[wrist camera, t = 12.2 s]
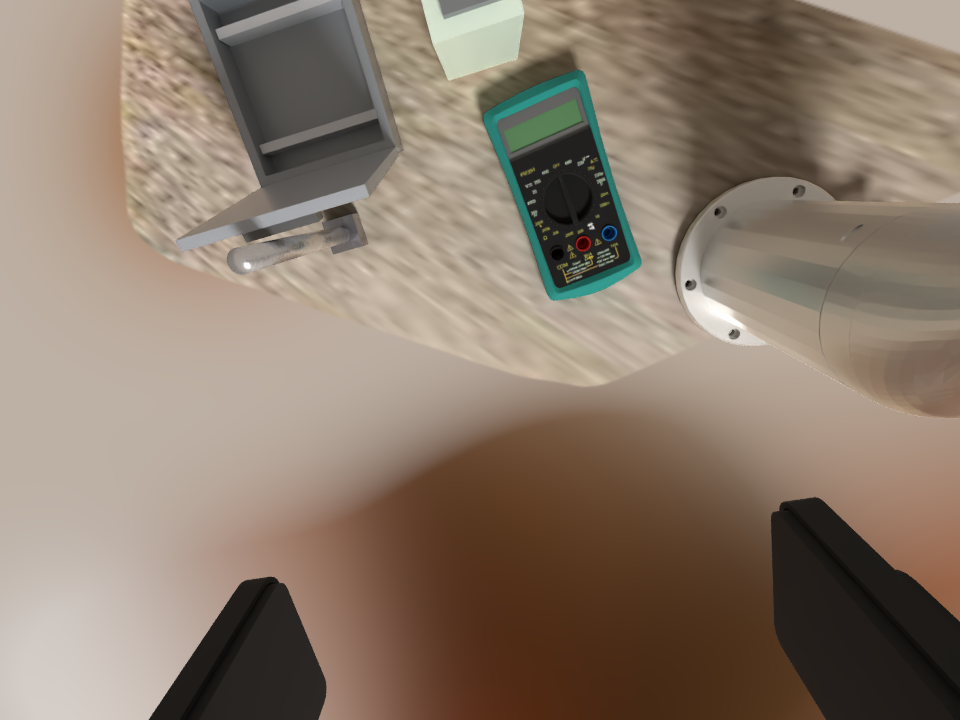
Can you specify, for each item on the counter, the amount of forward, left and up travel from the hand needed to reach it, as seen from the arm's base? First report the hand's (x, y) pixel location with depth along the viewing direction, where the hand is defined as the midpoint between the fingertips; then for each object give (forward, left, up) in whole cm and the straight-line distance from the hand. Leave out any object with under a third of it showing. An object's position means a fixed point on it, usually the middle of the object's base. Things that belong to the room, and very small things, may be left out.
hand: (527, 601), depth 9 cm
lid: (+10, -11, -23) cm, 27 cm away
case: (+10, -18, -32) cm, 38 cm away
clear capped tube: (+11, -8, -32) cm, 34 cm away
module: (-2, -18, -32) cm, 36 cm away
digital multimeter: (-6, -6, -32) cm, 33 cm away
